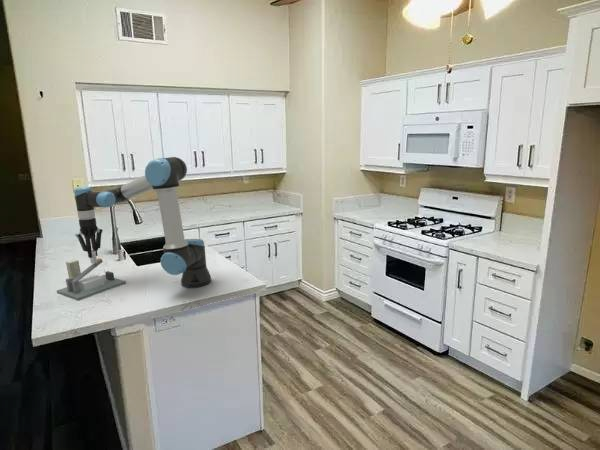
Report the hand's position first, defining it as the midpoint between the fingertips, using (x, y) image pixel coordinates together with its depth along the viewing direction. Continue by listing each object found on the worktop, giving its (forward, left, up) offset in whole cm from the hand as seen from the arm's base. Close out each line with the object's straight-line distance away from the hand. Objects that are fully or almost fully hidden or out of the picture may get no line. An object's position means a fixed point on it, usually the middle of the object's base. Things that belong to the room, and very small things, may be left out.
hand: (94, 263), depth 200 cm
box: (+20, +1, -13) cm, 23 cm away
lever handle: (0, +4, -3) cm, 5 cm away
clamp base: (0, +3, -12) cm, 13 cm away
